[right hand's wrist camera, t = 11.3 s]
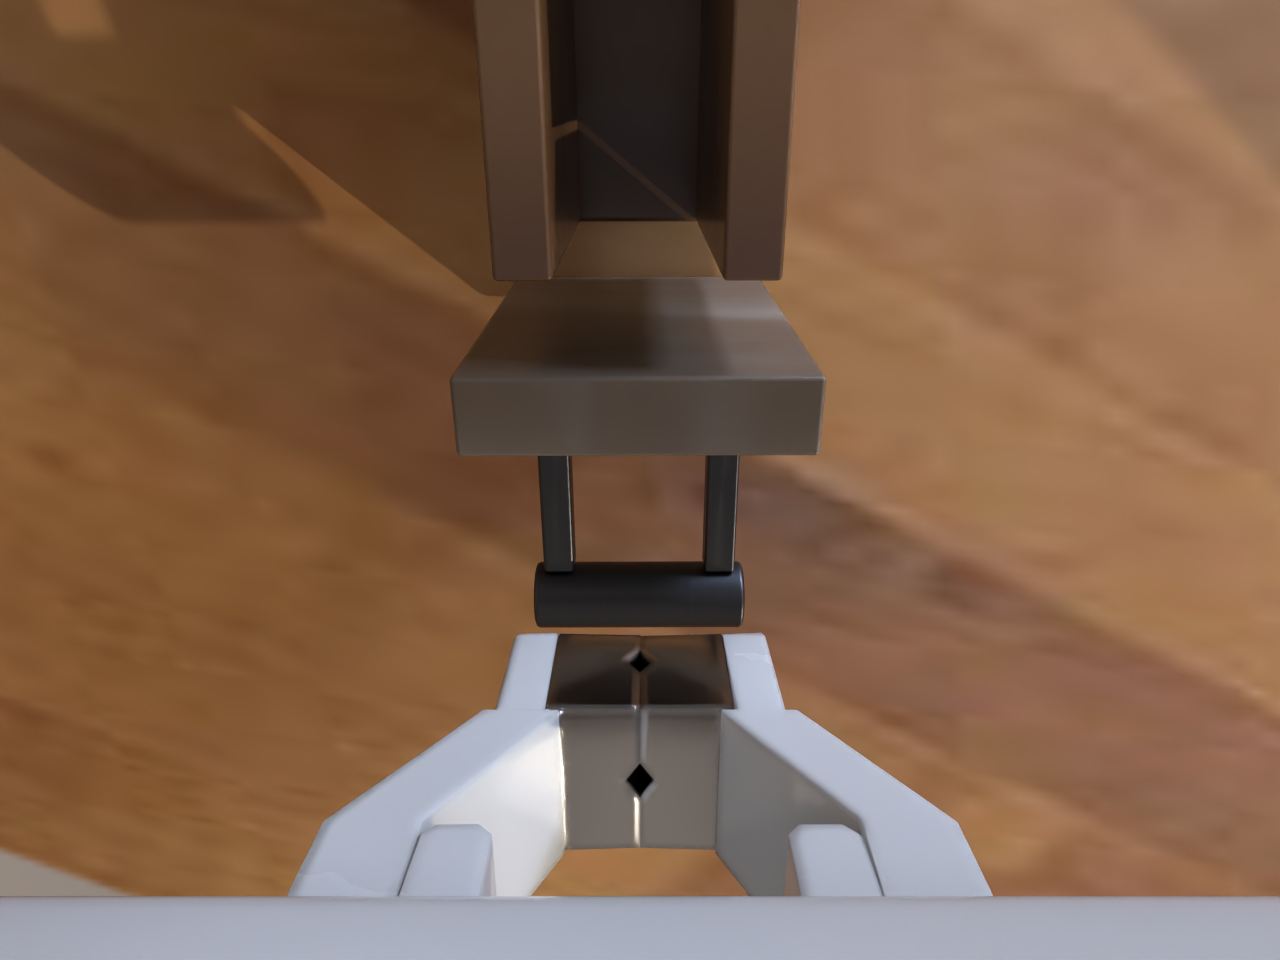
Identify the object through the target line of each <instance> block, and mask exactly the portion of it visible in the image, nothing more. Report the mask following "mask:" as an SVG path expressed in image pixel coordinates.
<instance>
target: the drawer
mask: <svg viewBox="0 0 1280 960" xmlns="http://www.w3.org/2000/svg"><path fill="white" fill-rule="evenodd" d="M472 1H473V14H474V28H475V41H476V55H477V68H478V82H479V95H480V109H481V122H482V136H483V149H484V163H485V176H486V190H487V203H488V217H489V231H490V244H491V258H492V271H493V278H494V280H496V281H516V282H515V283H514V285H513V286H512V288H511V289H510V291H509V292H508V294H507V295H506V297H505V298H504V300H503V301H502V303H501V304H500V306H499V307H498V309H497V310H496V312H495V313H494V315H493V316H492V318H491V319H490V321H489V322H488V324H487V325H486V326H485V328H484V329H483V331H482V332H481V334H480V335H479V337H478V338H477V340H476V341H475V343H474V344H473V346H472V347H471V349H470V350H469V352H468V353H467V355H466V356H465V358H464V359H463V361H462V362H461V364H460V365H459V367H458V368H457V370H456V371H455V373H454V374H453V375H452V377H451V379H450V389H451V399H452V409H453V419H454V429H455V439H456V449H457V453H458V455H460V456H538V468H539V486H540V503H541V521H542V538H543V556H544V562H540V563H538V565H537V568H536V572H535V581H534V614H535V621H536V624H537V626H538V627H739V626H741V625H742V622H743V617H744V577H743V570H742V566H741V564H740V563H739V562H737V561H734V558H735V538H736V518H737V499H738V479H739V459H740V455H817V454H818V453H819V451H820V442H821V431H822V420H823V410H824V399H825V388H826V378H825V376H824V375H823V373H822V372H821V370H820V369H819V367H818V366H817V364H816V363H815V361H814V360H813V358H812V357H811V355H810V354H809V352H808V351H807V349H806V348H805V346H804V345H803V343H802V342H801V340H800V339H799V337H798V336H797V334H796V333H795V331H794V330H793V328H792V327H791V325H790V324H789V322H788V321H787V319H786V318H785V316H784V315H783V313H782V312H781V310H780V309H779V307H778V306H777V304H776V303H775V301H774V300H773V298H772V297H771V295H770V294H769V292H768V291H767V289H766V288H765V286H764V285H763V283H762V282H761V280H780V279H781V278H782V273H783V258H784V243H785V228H786V213H787V198H788V183H789V168H790V153H791V138H792V123H793V108H794V92H795V77H796V62H797V47H798V32H799V17H800V2H801V0H472ZM595 221H697V222H698V225H699V227H700V229H701V231H702V233H703V235H704V237H705V240H706V242H707V244H708V246H709V248H710V250H711V252H712V254H713V257H714V259H715V261H716V263H717V265H718V267H719V269H720V272H721V274H722V276H723V277H552V276H553V274H554V272H555V270H556V268H557V266H558V264H559V262H560V260H561V258H562V256H563V254H564V252H565V250H566V248H567V246H568V244H569V242H570V239H571V237H572V235H573V233H574V231H575V229H576V227H577V225H578V223H579V222H595ZM638 455H706V461H705V492H704V523H703V554H702V558H703V561H701V562H575V559H576V551H575V526H574V500H573V475H572V456H638Z"/></svg>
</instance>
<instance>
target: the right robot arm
mask: <svg viewBox="0 0 1280 960" xmlns="http://www.w3.org/2000/svg"><path fill="white" fill-rule="evenodd" d="M607 848H672V849H708V850H716V854H717V855H718V857H719V858H720V859H721V860H722V862H723V863H724V864H725V865H726V867H727V868H728V869H729V870H730V872H731V873H732V874H733V876H734V877H735V878H736V879H737V881H738V882H739V883H740V884H741V886H742V887H743V888H744V889H745V891H746V892H747V893H748V894H749V896H531V895H532V894H533V893H534V891H535V890H536V889H537V888H538V886H539V885H540V884H541V883H542V881H543V880H544V879H545V878H546V876H547V875H548V874H549V873H550V871H551V870H552V869H553V868H554V866H555V865H556V864H557V862H558V861H559V860H560V859H561V857H562V856H563V855H564V850H572V849H607ZM0 960H1280V896H993V894H992V892H991V890H990V888H989V886H988V884H987V882H986V880H985V878H984V876H983V874H982V872H981V870H980V868H979V866H978V863H977V861H976V859H975V857H974V855H973V853H972V851H971V849H970V847H969V845H968V843H967V841H966V839H965V837H964V835H963V833H962V830H961V828H960V826H959V824H958V822H957V821H955V820H954V819H952V818H951V817H949V816H948V815H947V814H945V813H944V812H942V811H941V810H939V809H938V808H936V807H935V806H934V805H932V804H931V803H929V802H928V801H926V800H925V799H924V798H922V797H921V796H919V795H918V794H916V793H915V792H914V791H912V790H911V789H909V788H908V787H906V786H905V785H904V784H902V783H901V782H899V781H898V780H896V779H895V778H894V777H892V776H891V775H889V774H888V773H886V772H885V771H884V770H882V769H881V768H879V767H878V766H876V765H875V764H874V763H872V762H871V761H869V760H868V759H866V758H865V757H864V756H862V755H861V754H859V753H858V752H856V751H855V750H854V749H852V748H851V747H849V746H848V745H846V744H845V743H844V742H842V741H841V740H839V739H838V738H836V737H835V736H834V735H832V734H831V733H829V732H828V731H826V730H825V729H824V728H822V727H821V726H819V725H818V724H816V723H815V722H814V721H812V720H811V719H809V718H808V717H806V716H805V715H804V714H802V713H801V712H799V711H798V710H785V707H784V704H783V700H782V697H781V693H780V689H779V686H778V682H777V678H776V675H775V671H774V667H773V664H772V660H771V656H770V653H769V649H768V646H767V642H766V638H765V636H764V635H763V634H762V633H744V634H704V635H663V636H640V635H596V634H560V635H558V634H557V633H534V634H518V635H517V636H516V637H515V638H514V641H513V645H512V648H511V652H510V656H509V659H508V663H507V667H506V671H505V674H504V678H503V682H502V685H501V689H500V693H499V696H498V700H497V704H496V707H495V710H482V711H481V712H479V713H478V714H477V715H475V716H474V717H472V718H471V719H469V720H468V721H466V722H465V723H464V724H462V725H461V726H459V727H458V728H456V729H455V730H454V731H452V732H451V733H449V734H448V735H446V736H445V737H443V738H442V739H441V740H439V741H438V742H436V743H435V744H433V745H432V746H431V747H429V748H428V749H426V750H425V751H423V752H422V753H420V754H419V755H418V756H416V757H415V758H413V759H412V760H410V761H409V762H408V763H406V764H405V765H403V766H402V767H400V768H399V769H398V770H396V771H395V772H393V773H392V774H390V775H389V776H387V777H386V778H385V779H383V780H382V781H380V782H379V783H377V784H376V785H375V786H373V787H372V788H370V789H369V790H367V791H366V792H364V793H363V794H362V795H360V796H359V797H357V798H356V799H354V800H353V801H352V802H350V803H349V804H347V805H346V806H344V807H343V808H341V809H340V810H339V811H337V812H336V813H334V814H333V815H331V816H330V817H329V818H327V819H326V820H324V821H323V823H322V825H321V827H320V829H319V831H318V833H317V835H316V837H315V839H314V842H313V844H312V846H311V848H310V850H309V852H308V854H307V856H306V858H305V860H304V862H303V864H302V866H301V868H300V870H299V872H298V874H297V876H296V878H295V880H294V882H293V884H292V886H291V888H290V890H289V892H288V894H287V896H0Z"/></svg>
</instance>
